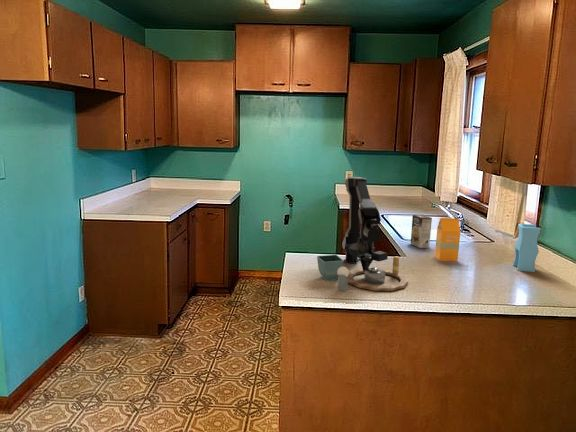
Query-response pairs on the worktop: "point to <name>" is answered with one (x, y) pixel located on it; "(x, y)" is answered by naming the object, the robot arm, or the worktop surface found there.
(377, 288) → the brown ring with post
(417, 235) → the coffee box
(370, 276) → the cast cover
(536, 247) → the vase
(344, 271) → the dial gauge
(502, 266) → the worktop surface
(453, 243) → the orange juice
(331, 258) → the flower pot
